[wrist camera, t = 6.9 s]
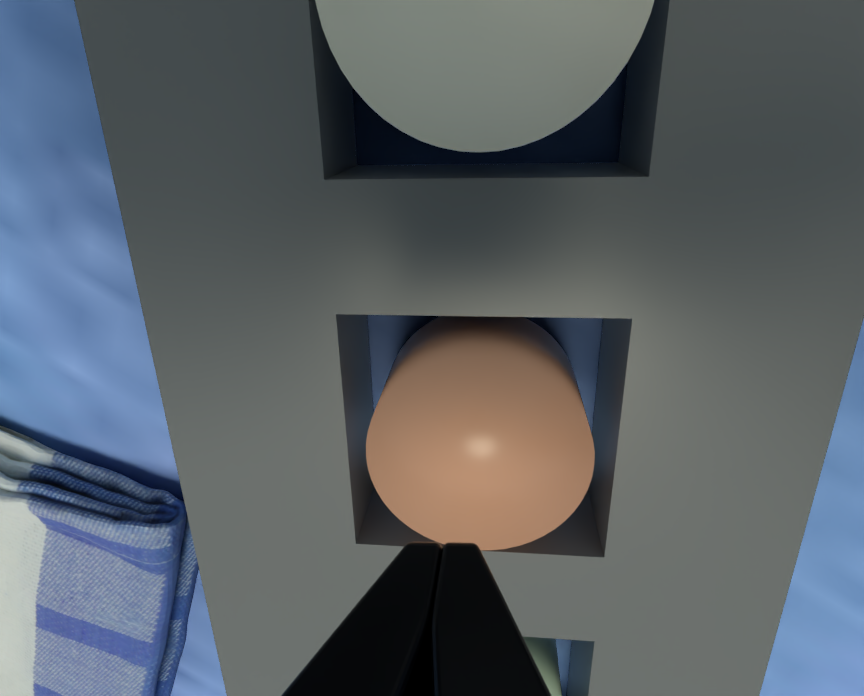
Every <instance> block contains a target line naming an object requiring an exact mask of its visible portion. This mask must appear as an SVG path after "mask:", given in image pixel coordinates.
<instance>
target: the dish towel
mask: <svg viewBox="0 0 864 696" xmlns="http://www.w3.org/2000/svg"><path fill="white" fill-rule="evenodd" d="M198 570H199V566H198V562H197V557H196V552H195V548H194V543H193V539H192V534H191V530H190V525H189V521H188V516H187V511H186V507H185V502H184V501H182V500H179V499H177V498H176V497H174V496H173V495H172V494H171V493H169V492H167V491H165V490H158V489H153V488H150V487H148V486H145V485H143V484H140V483H138V482H136V481H134V480H132V479H130V478H128V477H126V476H124V475H122V474H119V473H117V472H114V471H111V470H109V469H106V468H103V467H99V466H96V465H93V464H89V463H87V462H84V461H82V460H79V459H77V458H74V457H71V456H68V455H65V454H62V453H60V452H57V451H55V450H53V449H51V448H49V447H47V446H45V445H43V444H41V443H39V442H37V441H35V440H34V439H32V438H30V437H27V436H25V435H23V434H20V433H18V432H16V431H13V430H11V429H8V428H5V427H3V426H1V425H0V696H170V693H171V690H172V687H173V683H174V679H175V675H176V671H177V668H178V664H179V661H180V658H181V654H182V651H183V648H184V644H185V640H186V633H187V621H188V616H189V610H190V606H191V602H192V598H193V593H194V588H195V583H196V578H197V574H198Z"/></svg>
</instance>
